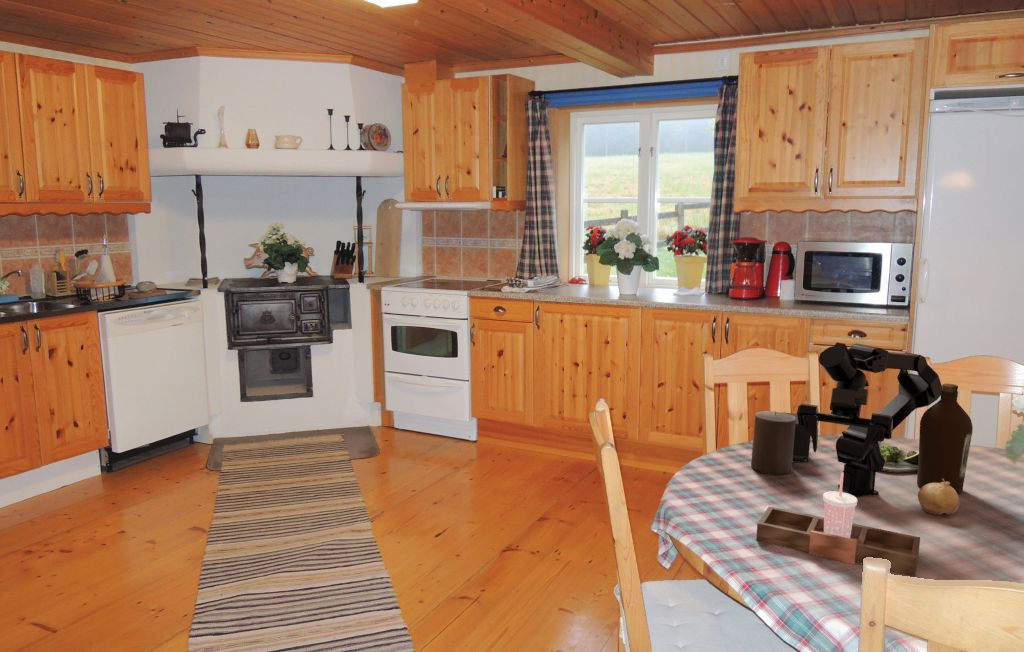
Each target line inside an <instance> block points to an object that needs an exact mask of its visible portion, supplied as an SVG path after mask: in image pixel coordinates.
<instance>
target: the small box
mask: <svg viewBox="0 0 1024 652" xmlns="http://www.w3.org/2000/svg"><path fill="white" fill-rule="evenodd" d="M781 413H786V414H789V415H792V416H794V417H795V418H796V423H795V435H794V447H793V458H792V463H801V464H808V463H809V459H810V445H811V435H810V432H809V430H805V429H804V426H801V425H799V423H798V417H797V413H792V412H785V411H784V412H781Z"/></svg>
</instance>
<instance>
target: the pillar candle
mask: <svg viewBox="0 0 1024 652" xmlns="http://www.w3.org/2000/svg"><path fill="white" fill-rule="evenodd" d="M786 413H787V412H784V413H782V412H779V411H775V410H774V411H772V410H763V411H758V412H755V415H754V426H753V438H752V448H751V449H752V451H751V461H750V467H751V468H752V469H753V468H754V469H755V470H754V469H753V470H754V471H756V470H757V472H759V471H760V472H759V473H763V474H765V473H767V474H766V475H769V474H774V475H773V476H785V475H784V474H786V475H788V473H789V474H791V473H792V469H793V462H792V458H793V447H794V435H795V423H796V418H795V417H794V416H792V415H789V414H786Z"/></svg>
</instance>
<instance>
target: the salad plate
mask: <svg viewBox="0 0 1024 652" xmlns="http://www.w3.org/2000/svg"><path fill="white" fill-rule="evenodd" d="M880 453H881V455H882V456H883V458H884V459H885V464H884V467H883V469H882V470H881V471H882V472H883V471H884V472H888V473H894V472H895V473H918V460H919V449H918V450H909V451H908V450H905V449H902V448H899V447H897V446H894V445H892V446H891V445H881V450H880Z"/></svg>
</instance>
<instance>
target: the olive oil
mask: <svg viewBox="0 0 1024 652" xmlns="http://www.w3.org/2000/svg"><path fill="white" fill-rule="evenodd" d="M941 385H942V390H941V396H940V398H939V400H938V401H937V402H936V403H934V404H933V405H932V406H930V407H929V408H927V409H926V410H925V411H924V412H923V414H922V416H921V418H920V421H919V443H918V450H919V460H918V472H917V477H916V478H917V479H916V485H917V487H918V488H919V489H921V488H922V487H923V486H924V485H926V484H929V483H941V482H944V481H945V482H946V481H948V482H950V484H949V486H951V487H952V488H953V489H954V490H955V491H956V492H957V494H958V496H959V495H961V494H962V493H963V489H964V485H965V484H964V483H965V477H966V471H967V466H968V465H967V464H968V460H969V459H968V458H969V452H970V448H971V441H972V436H973V422H972V419H971V417H970V416H969V414H968V413H967V412H966V411H965V409H964V408H963V407H962V406H961V405H960V403H959V402H958V398H959V397H958V396H959V395H958V394H959V391H958V389H959V385H957V384H954V383H943V384H942V383H941ZM942 479H944V481H943V480H942Z"/></svg>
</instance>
